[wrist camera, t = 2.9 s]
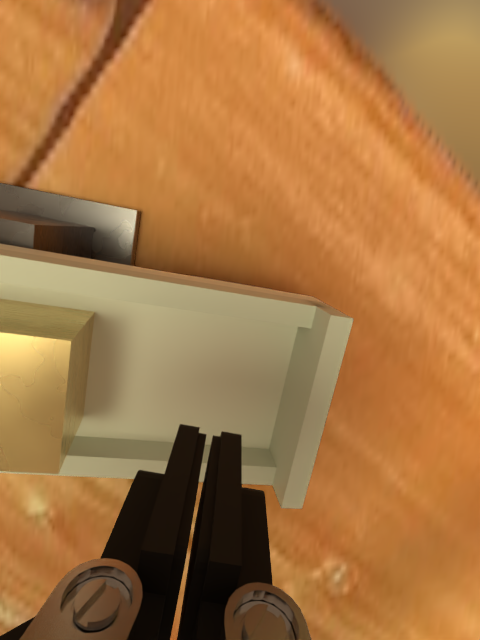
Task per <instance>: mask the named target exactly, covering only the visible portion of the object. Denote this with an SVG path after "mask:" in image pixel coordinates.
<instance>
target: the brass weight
mask: <svg viewBox="0 0 480 640" xmlns="http://www.w3.org/2000/svg"><path fill="white" fill-rule="evenodd" d="M94 314H95V312H93V311H86V310H79V309H71V308H64V307H57V306H50V305H43V304H36V303H28V302H21V301H14V300H7V299H0V471H8V472H29V473H51V474H59V472H60V469H61V467H62V465H63V463H64V460H65V458H66V456H67V453H68V451H69V449H70V446H71V444H72V442H73V440H74V437H75V435H76V433H77V430H78V428H79V426H80V423H81V421H82V419H83V416H84V406H85V397H86V388H87V379H88V370H89V360H90V351H91V342H92V333H93V324H94Z"/></svg>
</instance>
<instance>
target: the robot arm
mask: <svg viewBox="0 0 480 640" xmlns="http://www.w3.org/2000/svg"><path fill="white" fill-rule="evenodd" d="M199 429H200V427H195V426H189V425H184V424H180V425H179V428H178V432H177V435H176V438H175V441H174V445H173V448H172V451H171V454H170V457H169V461H168V464H167V467H166V470H165V474H161V473H155V472H150V471H144V470H139V471H138V472H137V474H136V476H135V478H134V481H133V483H132V485H131V488H130V490H129V492H128V495H127V497H126V500H125V502H124V504H123V507H122V509H121V511H120V514H119V516H118V518H117V521H116V523H115V526H114V528H113V530H112V533H111V535H110V537H109V540H108V542H107V544H106V547H105V549H104V552H103V554H102V556H101V559H94V560H91V561H88V562H85V563H83V564H80V565H79V566H77V567H76V568H74V569H73V570H71V571H70V572H68V573H67V574H66V576H65V577H64V578H63V579H62V580H61V581H60V582H59V583H58V585H57V586H56V588H55V589H54V590H53V592H52V593H51V595H50V596H49V598H48V599H47V601H46V602H45V603H44V605H43V606H42V608H41V609H40V611H39V612H38V614H37V615H36V616H35V617H34V618H32V619H30V620H28V621H27V622H25V623H23V624H21V625H19V626H18V627H16V628H14V629H12V630H11V631H9V632H7V633H5V634H3V635H2V636H0V640H170V636H171V631H172V626H173V621H174V616H175V611H176V605H177V600H178V595H179V590H180V585H181V580H182V575H183V570H184V565H185V559H186V554H187V548H188V542H189V536H190V530H191V524H192V518H193V512H194V507H195V501H196V495H197V489H198V483H199V477H200V471H201V465H202V459H203V453H204V447H205V441H206V435H207V434H203V433H199ZM177 640H311V637H310V634H309V630H308V627H307V623H306V621H305V619H304V616H303V614H302V612H301V609H300V608H299V607H298V605H297V604H296V603H295V602H294V600H293V599H292V598H291V597H290V596H289V595H287V594H286V593H285V592H284V591H283V590H281V589H279V588H277V587H275V586H273V585H272V573H271V562H270V550H269V539H268V527H267V515H266V504H265V495H264V492H263V491H261V490H255V489H249V488H243V487H242V436H241V435H240V434H234V433H229V432H223V431H222V432H221V435H220V436H214V435H213V437H212V442H211V447H210V452H209V457H208V462H207V467H206V472H205V477H204V482H203V487H202V492H201V497H200V502H199V507H198V512H197V517H196V523H195V528H194V534H193V541H192V547H191V554H190V560H189V566H188V573H187V579H186V586H185V592H184V599H183V605H182V611H181V618H180V624H179V631H178V637H177Z"/></svg>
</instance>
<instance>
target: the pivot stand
mask: <svg viewBox="0 0 480 640" xmlns="http://www.w3.org/2000/svg"><path fill="white" fill-rule="evenodd" d="M140 216H141V211H137V210H132V209H127V208H122V207H117V206H112V205H107V204H102V203H97V202H92V201H87V200H82V199H77V198H72V197H67V196H62V195H57V194H52V193H47V192H42V191H37V190H32V189H27V188H22V187H17V186H12V185H7V184H3V183H0V244H6V245H12V246H18V247H23V248H29V249H35V250H41V251H47V252H53V253H59V254H65V255H71V256H77V257H83V258H88V259H94V260H100V261H106V262H112V263H118V264H124V265H130V266H134V262H135V255H136V247H137V239H138V231H139V224H140Z"/></svg>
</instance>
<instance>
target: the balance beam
mask: <svg viewBox="0 0 480 640" xmlns="http://www.w3.org/2000/svg"><path fill="white" fill-rule="evenodd" d="M0 299H7V300H14V301H21V302H28V303H36V304H43V305H50V306H57V307H64V308H71V309H79V310H86V311H93V312H95V314H94V324H93V333H92V342H91V351H90V360H89V370H88V379H87V388H86V397H85V406H84V416H83V419H82V421H81V423H80V426H79V428H78V430H77V433H76V435H75V437H74V440H73V442H72V444H71V446H70V449H69V451H68V453H67V456H66V458H65V460H64V463H63V465H62V467H61V469H60V472H59V474H51V473H29V472H8V471H0V473H15V474H37V475H59V476H81V477H103V478H124V479H134V478H135V476H136V474H137V472H138V471H139V470H144V471H150V472H155V473H161V474H165V470H166V467H167V464H168V461H169V457H170V454H171V451H172V448H173V445H174V441H175V438H176V435H177V432H178V428H179V425H180V424H184V425H189V426H195V427H200V429H199V433H203V434H207V435H206V441H205V447H204V453H203V459H202V465H201V471H200V477H199V482H204V477H205V472H206V467H207V462H208V457H209V452H210V447H211V442H212V437H213V435H214V436H220V435H221V432H222V431H223V432H229V433H234V434H240V435H241V436H242V484H255V485H272V486H273V488H274V491H275V493H276V496H277V499H278V501H279V504H280V506H281V508H294V509H302V507H303V503H304V499H305V496H306V492H307V488H308V485H309V481H310V477H311V474H312V470H313V466H314V463H315V459H316V455H317V452H318V448H319V444H320V441H321V437H322V433H323V430H324V426H325V422H326V419H327V415H328V411H329V408H330V404H331V400H332V397H333V393H334V389H335V386H336V382H337V378H338V375H339V371H340V367H341V364H342V360H343V356H344V352H345V349H346V345H347V341H348V338H349V334H350V330H351V327H352V323H353V318H351V317H350V316H348V315H346V314H344V313H342V312H340V311H338V310H337V309H335V308H333V307H331V306H329V305H327V304H326V303H324V302H322V301H320V300H318V299H316V298H315V297H313V296H307V295H301V294H295V293H289V292H284V291H278V290H273V289H270V288H264V287H258V286H252V285H246V284H240V283H234V282H229V281H223V280H217V279H211V278H205V277H199V276H193V275H190V276H189V275H183V274H177V273H171V272H165V271H159V270H154V269H148V268H142V267H136V266H130V265H124V264H118V263H112V262H106V261H100V260H94V259H88V258H83V257H77V256H71V255H65V254H59V253H53V252H47V251H41V250H35V249H29V248H23V247H18V246H12V245H6V244H0Z"/></svg>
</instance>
